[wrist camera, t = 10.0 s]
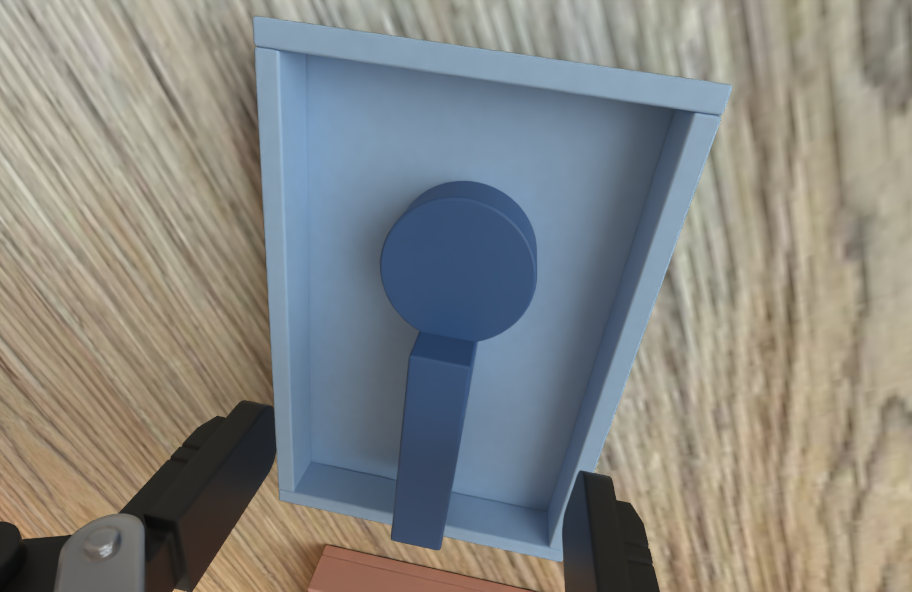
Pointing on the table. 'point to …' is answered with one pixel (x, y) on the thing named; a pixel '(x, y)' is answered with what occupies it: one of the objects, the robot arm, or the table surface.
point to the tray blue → (558, 258)
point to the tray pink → (389, 576)
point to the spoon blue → (449, 329)
